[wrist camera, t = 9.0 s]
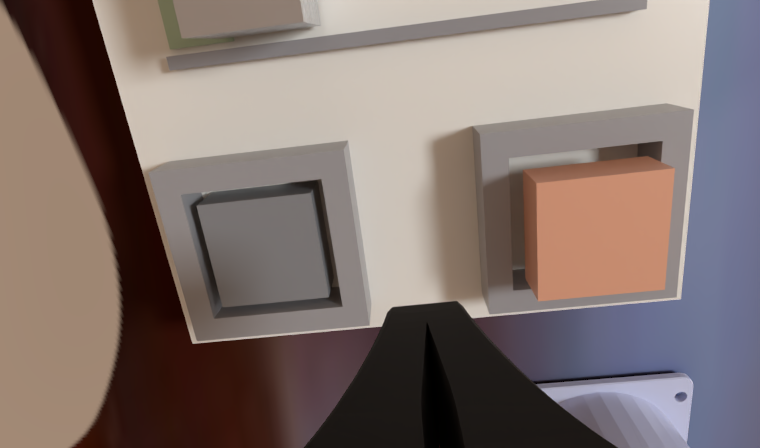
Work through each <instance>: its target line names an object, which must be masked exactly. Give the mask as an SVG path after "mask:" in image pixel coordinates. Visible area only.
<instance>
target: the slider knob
mask: <svg viewBox="0 0 760 448" xmlns="http://www.w3.org/2000/svg"><path fill="white" fill-rule="evenodd" d="M173 4H174V8H175V12H176V16H177V20H178V24H179V29H180V33H181V37H182V38H204V39H224V38H232V37H239V36H247V35H254V34H262V33H269V32H277V31H285V30H292V29H300V28H307V27H315V26H321V21H320V15H319V8H318V1H317V0H173Z"/></svg>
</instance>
